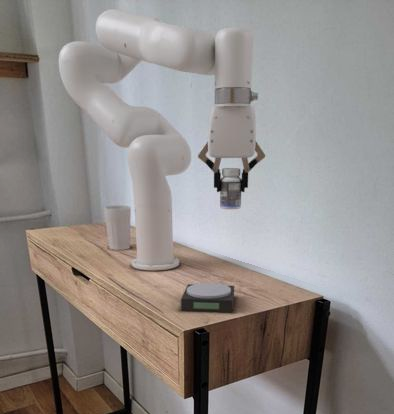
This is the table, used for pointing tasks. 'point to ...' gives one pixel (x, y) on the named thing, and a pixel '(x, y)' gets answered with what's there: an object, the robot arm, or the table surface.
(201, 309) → the scale
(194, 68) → the robot arm
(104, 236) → the table surface
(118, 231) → the cup
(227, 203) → the pill bottle
